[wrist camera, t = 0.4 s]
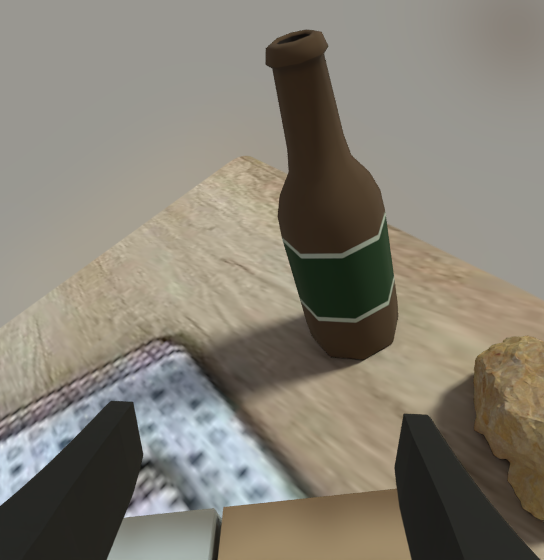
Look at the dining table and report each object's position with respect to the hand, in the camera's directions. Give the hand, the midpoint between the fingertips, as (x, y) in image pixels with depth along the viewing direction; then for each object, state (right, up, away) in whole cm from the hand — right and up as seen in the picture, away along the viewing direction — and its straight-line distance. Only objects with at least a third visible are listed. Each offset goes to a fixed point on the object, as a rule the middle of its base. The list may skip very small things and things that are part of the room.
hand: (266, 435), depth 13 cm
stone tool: (+17, -6, +18) cm, 25 cm away
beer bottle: (+7, 0, +29) cm, 30 cm away
